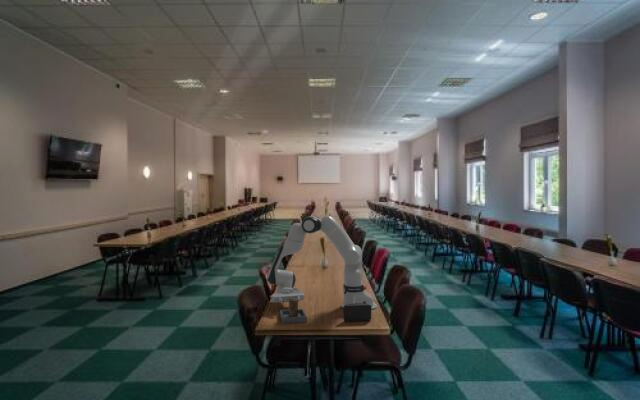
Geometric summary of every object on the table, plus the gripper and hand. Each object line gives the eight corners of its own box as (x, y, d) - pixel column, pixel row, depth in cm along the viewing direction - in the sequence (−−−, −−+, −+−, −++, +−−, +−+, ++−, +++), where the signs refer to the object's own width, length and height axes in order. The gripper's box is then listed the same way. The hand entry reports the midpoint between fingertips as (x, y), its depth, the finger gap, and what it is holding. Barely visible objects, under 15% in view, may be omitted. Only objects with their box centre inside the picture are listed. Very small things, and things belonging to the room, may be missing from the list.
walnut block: (296, 315, 213) (296, 298, 213) (298, 317, 209) (298, 300, 208) (288, 315, 212) (288, 298, 211) (290, 318, 207) (290, 301, 207)
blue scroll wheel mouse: (369, 318, 211) (369, 302, 211) (371, 321, 207) (371, 304, 207) (342, 319, 209) (342, 303, 209) (343, 322, 205) (343, 305, 205)
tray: (303, 313, 218) (303, 308, 218) (307, 322, 205) (307, 316, 205) (280, 315, 216) (280, 310, 216) (282, 323, 202) (282, 318, 202)
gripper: (269, 290, 228) (273, 297, 214) (301, 288, 233) (306, 294, 220) (269, 300, 228) (273, 307, 215) (301, 298, 234) (306, 304, 220)
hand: (290, 301), depth 217 cm, fingers open, 8 cm apart
